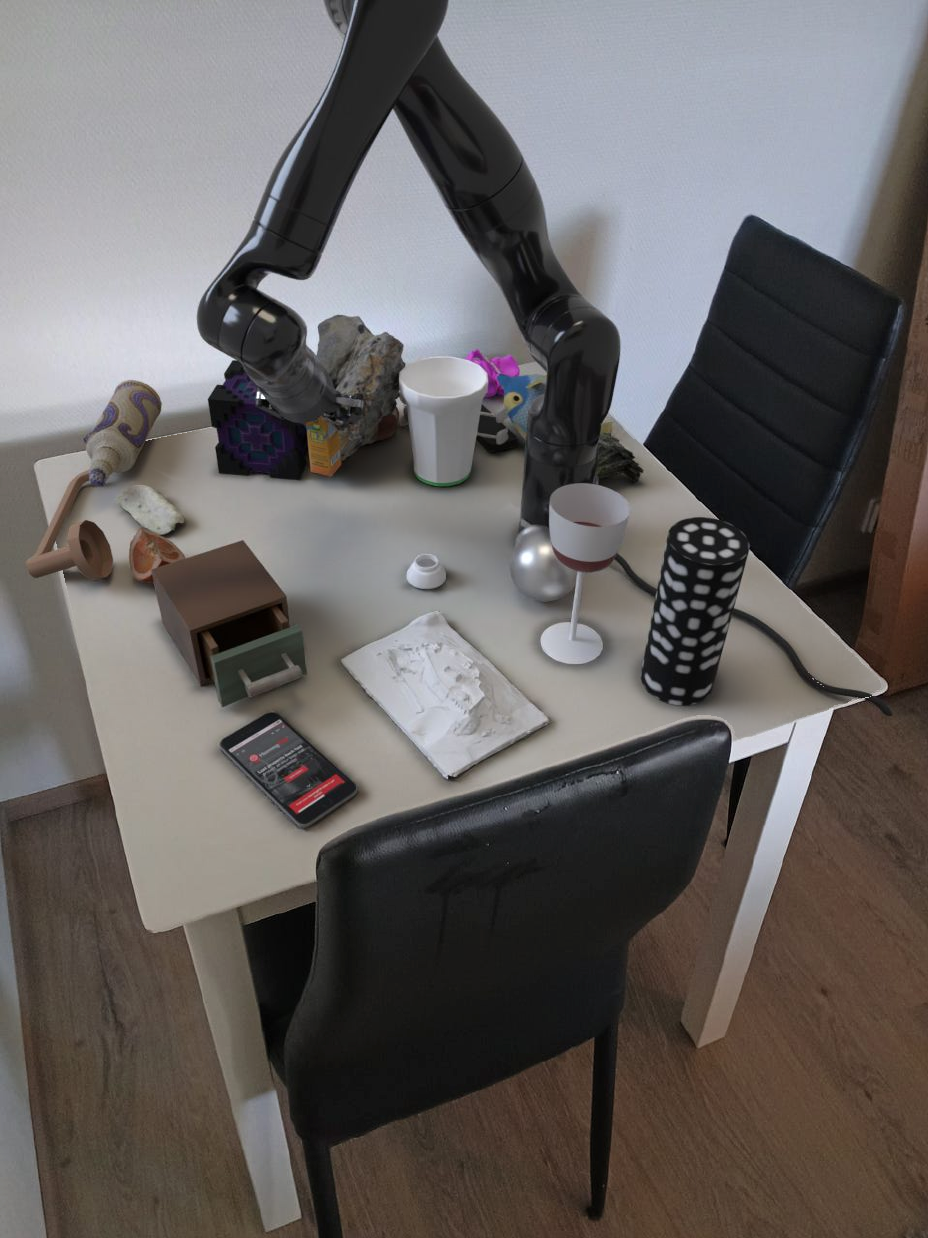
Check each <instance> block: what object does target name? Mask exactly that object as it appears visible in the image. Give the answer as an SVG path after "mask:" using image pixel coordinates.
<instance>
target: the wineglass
mask: <svg viewBox="0 0 928 1238" xmlns="http://www.w3.org/2000/svg"><path fill="white" fill-rule="evenodd" d="M630 513H631V506H630V504H629V502H628V501H627V499H626V498H625V497H624V496H623V495H622V494H620V493H619V492H617V491H615V490H613V489H611V488H609V487H606V486H603V485H600V484H598V485H595V484H587V483H576V484H569V485H565V486H562V487H560V488H558V489H557V490H555V491H554V492H553V493H552V495H551V497H550V506H549V529H550V538H551V545H552V549H553V552H554V554H555V556H556V557H557V559H558V560H559V561H560V562H561V563H563V564H564V565H565V566H567V567H568V568H570V569H573V570H576V571H578V572H577V580H576V585H575V587H574V588H575V589H574V597H573V603H572V612H571V620H570V622H569V621H565V622H557V623H555V624H552V625H549V626H548V627H547V628H546V629H545V630H544V631H543V632H542V634H541V636H540V642H539V643H540V647H541V649H542V651H543V652H544V653H545V654H546V655H547V656H548V657H549V658H552V659H553V660H554V661H557V662H560V663H563V664H566V665H582V664H587V663H590V662H592V661H594V660H596V659H597V658H598V657H599V656H600V655H601V653H602V652H603V649H604V642H603V639H602V638H601V635H600V634H599V633H598V632H596V630H594V629H593V628H592V627H589V626H587V625H586V624H582V623H579V616H580V615H579V614H580V607H581V600H582V592H583V584H584V576H585V574H587V573H597V572H600V571H602V570H605V569H606V568H608V567H609V566H610V565H611V564H612V563H613V562H614V561H615V557H616V555H617V553H618V552H619V550H620V547H621V545H622V543H623V539H624V536H625V533H626V531H627V530H626V529H627V526H628V522H629V517H630ZM618 554H619V553H618Z"/></svg>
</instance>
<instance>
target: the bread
mask: <svg viewBox="0 0 928 1238" xmlns="http://www.w3.org/2000/svg"><path fill="white" fill-rule="evenodd" d="M399 418H400V411H399V407H398V406H396V408H395V410H394V411H393V413H392V414H391V415H390V416H388V417H385V418H384V419H383V420H382V421H381V422H379V423H378V433H377V435H376V439H375V441H374V442H378V441H384V440H386V439H388V438H391V437H392V436H393V435H394V434H395V433H396V431H397V427H398V421H399Z"/></svg>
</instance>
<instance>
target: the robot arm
mask: <svg viewBox="0 0 928 1238" xmlns="http://www.w3.org/2000/svg"><path fill="white" fill-rule="evenodd" d="M322 1H323V4H324V8H325V10H326V13H327V16H328V19H329V20H330V22H331V24H332V26H333V28H334V29H335V31H336V32H337V34H338V35H339V36H340V37H341V39H342V40H343V41H342V45H341V48H340V52H339V54H338V58H337V60H336V63H335V67H334V68H333V70H332V73H331V76H330V78H329V80H328V82H327V84H326V86H325V88H324V89H323V92H322V93H321V95H320V97H319V99H318V101H317V102H316V104H315V106H314V107H313V109H312V110H311V112H310V113H309V114H308V116H307V117H306V118H305V120H304V122H303V123H302V124H301V126H300V127H299V129H298V130H297V131H296V133H295V134H294V136H293V137H292V138H291V140H289V143H288V144H287V145H286V147H285V149H283V151H282V153H281V155H280V157H279V158H278V160H277V162H276V164H275V166H274V167H273V169H272V172H271V174H270V176H269V178H268V181H267V183H266V186H265V188H264V191H263V193H262V196H261V198H260V201H259V204H258V206H257V208H256V211H255V214H254V215H253V220H252V222H251V223H250V226H249V229H248V231H247V233H246V234H245V236H244V238H243V239H242V240H241V242H240V244H238V247H237V248H236V249H235V251H234V252H233V254H232V255H231V257H230V258H229V260H228V261H227V262H226V263H225V265H224V266H223V268H222V269H221V270H220V272H219V273H218V274H217V275H216V276H215V278H214V279H213V281H212V282H211V283H210V284H209V285H208V287H207V288H206V290H205V291H204V292H203V294H202V296H201V298H200V300H199V303H198V306H197V310H196V327H197V330H198V333H199V336H200V337H201V339H202V340H203V341H204V342H205V343H206V344H207V345H209V346H211V347H212V348H214V349H216V350H218V351H219V352H221V353H223V354H224V355H226V356H228V357H230V358H231V359H232V360H237V361H239V362H240V363H242V365H243V368H244V370H245V372H246V373H247V375H248V376H249V378H250V379H251V380H252V381H253V382H254V383H255V384H256V386H257V392H256V401H255V406H256V407H258V408H260V409H262V410H264V411H266V412H268V413H270V414H272V415H274V416H276V417H278V418H280V419H287V420H289V421H292V422H296V423H301V424H303V425H304V426H305V427H306V423H307V422H311V421H314V420H316V419H318V418H320V419H321V420H323V421H324V422H329V423H333V424H334V426H335V427H336V428H337V430H338V431H344V429H345V428H348V424H349V425H355V424H356V423H357V421H358V420H359V419H360V417H361V416H362V410H363V401H364V395H363V394H361V393H356V394H354V395H353V396H352V395H350V396H349V398H345V397H342V394H341V393H340V392H339V391H337V390H335V389H334V385H333V382H332V379H331V377H330V375H329V374H328V372H327V371H326V369H325V368H324V366H323V365H322V363H321V362H320V360H319V359H318V357H317V356H316V355H317V354H316V353H315V352H314V351H313V350H312V349H311V348H310V347H309V346H308V345H307V336H308V326H307V323H306V321H305V320H304V319H303V317H302V316H301V315H300V314H299V313H298V312H297V311H296V310H294V309H293V308H292V307H290V306H289V305H287V304H285V303H283V302H282V301H279V300H278V299H276V298H274V297H272V296H271V295H269V294H267V293H266V292H263V290H260V289H259V285H260V283H261V282H262V281H263V280H264V279H265V278H266V277H268V276H269V275H270V274H274V275H279V276H281V277H284V278H288V279H292V280H295V281H306V280H308V279H310V278H311V277H313V275H314V274H315V272H316V270H317V268H318V266H319V263H320V260H321V259H322V257H323V254H324V252H325V250H326V247H327V245H328V242H329V240H330V237H331V235H332V232H333V230H334V227H336V226H335V225H336V223H337V221H338V219H339V216H340V213H341V211H342V208H343V206H344V204H345V202H346V199H347V197H348V195H349V192H350V190H351V188H352V186H353V184H354V182H355V179H356V177H357V175H358V173H359V171H360V169H361V168H362V165H363V163H364V162H365V159H366V158H367V156H368V154H369V152H370V151H371V148H372V146H373V145H374V143H375V141H376V139H377V138H378V136H379V134H380V132H381V130H382V128H383V127H384V125H385V123H386V121H387V120H388V118H389V116H390V114H391V113H392V111H393V112H394V114H395V116H396V118H397V120H398V122H399V124H400V125H401V127H402V129H403V132H404V133H405V135H406V137H407V139H408V141H409V143H410V144H411V147H412V149H413V150H414V152H415V155H416V156H417V158H418V160H419V161H420V163H421V165H422V167H423V168H424V170H425V171H426V174H427V176H428V178H429V180H430V181H431V183H432V184H433V186H434V188H435V190H436V192H437V194H438V195H439V198H440V199H441V201H442V203H443V205H444V207H445V208H446V210H447V212H448V214H449V215H450V217H451V219H452V220H453V222H454V224H455V226H456V227H457V229H458V231H459V232H460V234H461V235H462V236H463V238H464V239H465V241H466V242H467V244H468V246H469V247H470V249H471V251H472V252H473V253H474V254H475V257H477V259H478V260H479V262H480V263H481V264H482V266H483V267H484V269H485V270H486V272H488V274H490V276H491V278H493V280H494V281H495V283H496V284H497V286H498V288H499V289H500V291H501V294H502V295H503V297H504V300H505V301H506V304H507V306H508V308H509V311H510V312H511V315H512V317H513V320H514V322H515V324H516V327H517V329H518V332H519V335H520V336H521V339H522V342H523V344H524V346H525V348H526V350H527V351H528V353H529V355H530V356H531V358H533V360H534V361H535V362H536V363H537V364H538V365H539V366H540V367H541V369H542V370H544V372H545V373H546V375H547V378H546V387H545V394H543V395H540V396H538V397H537V398H535V399H534V400H533V401H532V403H531V404H530V407H529V410H528V420H527V433H526V440H525V446H524V459H523V460H524V462H523V473H522V485H521V486H522V487H521V501H520V513H519V514H520V516H519V525H518V530H517V532H518V533H517V535H518V534H519V533H520V532H521V531H522V530H523V529H524V528H526V527H528V526H530V525H542V526H546V527H548V528H549V506H550V497H551V495H552V493H553V492H554V491H555V490H557V489H558V488H560V487H562V486H565V485H569V484H576V483H587V484H595V485H599V481H600V478H598V477H597V476H595V473H596V465H597V457H598V449H599V441H600V434H601V427H602V423H604V421H605V419H606V418H607V416H608V414H609V412H610V409H611V406H612V403H613V398H614V392H615V387H616V383H617V382H616V381H617V376H618V372H619V366H620V359H621V349H622V348H621V345H622V344H621V336H620V332H619V329H618V327H617V326H616V324H615V323H614V322H613V320H611V319H610V318H609V317H608V316H607V315H606V314H605V313H603V312H602V311H601V310H600V309H599V308H598V307H597V306H596V305H594V304H593V303H592V302H591V301H590V300H588V299H587V298H586V297H585V296H584V295H583V294H582V292H580V291H579V289H578V288H577V287H576V285H575V284H574V283H573V281H572V280H571V278H570V276H569V275H568V273H567V272H566V270H565V269H564V267H563V265H562V264H561V263H560V261H559V259H558V258H557V255H556V253H555V251H554V249H553V246H552V243H551V240H550V235H549V228H548V221H547V220H548V219H547V213H546V208H545V203H544V201H543V197H542V194H541V191H540V188H539V187H538V184H537V182H536V180H535V177H534V175H533V173H532V172H531V169H530V167H529V166H528V164H527V162H526V160H525V157H524V156H523V153H522V151H521V149H520V148H519V146H518V144H517V143H516V141H515V140H514V137H513V136H512V135H511V133H510V132H509V129H507V127H506V126H505V124H504V123H503V122H502V121H501V120H500V118H499V116H497V114H496V113H495V112H494V111H493V110H492V108H491V107H490V106H489V105H488V104H487V103H486V101H485V100H484V99H483V98H482V96H480V95H479V94H478V92H477V91H476V90H475V89H474V87H472V86H471V84H470V83H469V82H468V81H467V80H466V79H465V77H464V76H463V75H462V74H461V72H460V71H459V69H458V68H457V67H456V66H455V64H454V63H453V61H452V60H451V58H450V56H449V55H448V53H447V52H446V49H445V47H444V46H443V44H442V42H441V39H440V38H439V35H438V34H439V32H440V30H441V28H442V27H443V24H444V21H445V19H446V16H447V12H448V8H449V2H450V0H322ZM614 561H615V562H617V563H618V564H619V566H620V567H621V568H622V570H623V571H624V572H625V574H626V575H627V576H628V578H629V579H630V580H631V581H633V582H634V583H635V584H636V585H637V586H639V587H640V588H642V589H643V590H644V591H646V592H648V593H649V594H651V595H653V596H655V597H656V593H657V588H656V587H654V586H653V585H651V584H649V583H648V582H646V581H645V580H644V579H642V578H641V577H640V576H639V575H637V574H636V573H635V572H634V571H633V569H632V567H631V566H630V564H629V563H628V562H627V560H626V559H624V557H623V556H622V555H620V554H619V553H617V555H616V557H615V559H614ZM732 616H736V617H738V618H740V619H742V620H745V621H747V622H749V623H750V624H752V625H754V626H755V627H757V628H758V629H760V630H761V631H762V632H764V633H765V634H766V635H768V636H769V637H770V638H771V639H772V640H774V641H775V642H776V643H777V644H778V645H779V646H780V647H781V648H782V649H783V650H784V651H785V652H786V654H787V655H788V657H789V659H790V660H791V662H792V664H793V666H794V667H795V669H796V670H797V672H798V673H799V674H800V675H801V677H802V678H803V680H805V681H806V682H807V683H809V684H810V685H811V686H813V687H814V688H816V689H818V690H820V691H822V692H825V693H828V694H832V695H836V696H842V697H850V698H856V699H860V700H864V701H867V702H870V703H872V704H873V705H875V706H876V707H877V708H878V709H879V710H880V711H881V713H882V714H884V715H885V716H887V717H892V716H893V712H892V709H891V708H890V707H889V706H888V704H887V703H886V702H884V700H883V699H881V698H879V697H878V696H876V695H874V696H872V695H873V694H872V693H869V692H866V691H862V690H857V689H849V688H844V687H837V686H833V685H829V684H828V683H824V682H822V681H821V680H819V679H817V678H816V677H815V676H813V675H812V674H811V673H810V672H809V671H808V670H807V668H806V667H805V666H804V664H803V663H802V661H801V659H800V656H799V655H798V654H797V652H796V651H795V649H794V648H793V646H792V645H791V644H790V643H789V642H788V641H787V640H786V639H785V638H784V637H783V636H782V635H780V634H779V633H778V632H777V631H776V630H775V629H773V628H772V627H770V626H769V625H768V624H766V623H765V622H764V621H762V620H760V619H759V618H757V617H755V616H754V615H752V614H750V613H748V612H746V611H743V610H740V609H738V608H735V607H734V609H733V613H732ZM808 672H809V673H808ZM812 678H814V680H813V679H812ZM815 678H816V679H817V680H816V679H815ZM817 682H819V683H817ZM820 684H822V685H820ZM823 686H824V687H823ZM870 696H871V697H870ZM857 697H858V698H857ZM865 697H869V698H865ZM862 698H865V699H862Z"/></svg>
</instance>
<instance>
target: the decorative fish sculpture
mask: <svg viewBox="0 0 928 1238" xmlns="http://www.w3.org/2000/svg"><path fill="white" fill-rule="evenodd" d="M546 378H547V374H525V375H519V376H516V377H510V376H507V375H505V374H502V373H500V374H499V376H497V380H498V382H499V384H500V385H501V387H502V388H503V390H504V392H505V393H504V396H503V408H504V407H506V406H507V407H508V411H507V412H506V413H508V418H509V420H510V423H512V424H513V426H514V427H515V429H516V430H517V432H518V434H519V435H520V436H521V437H522V438H523V439H524V440H525V441H526V433H527V420H528V410H529V407H530V404H531V403H532V401H533V400H534V399H535V398H537V397H538V396H540V395H543V394H545V387H546ZM612 432H613V422H612V421H610V422H609V421H608V422H603V423H602V427H601V433H611V434H612Z"/></svg>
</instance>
